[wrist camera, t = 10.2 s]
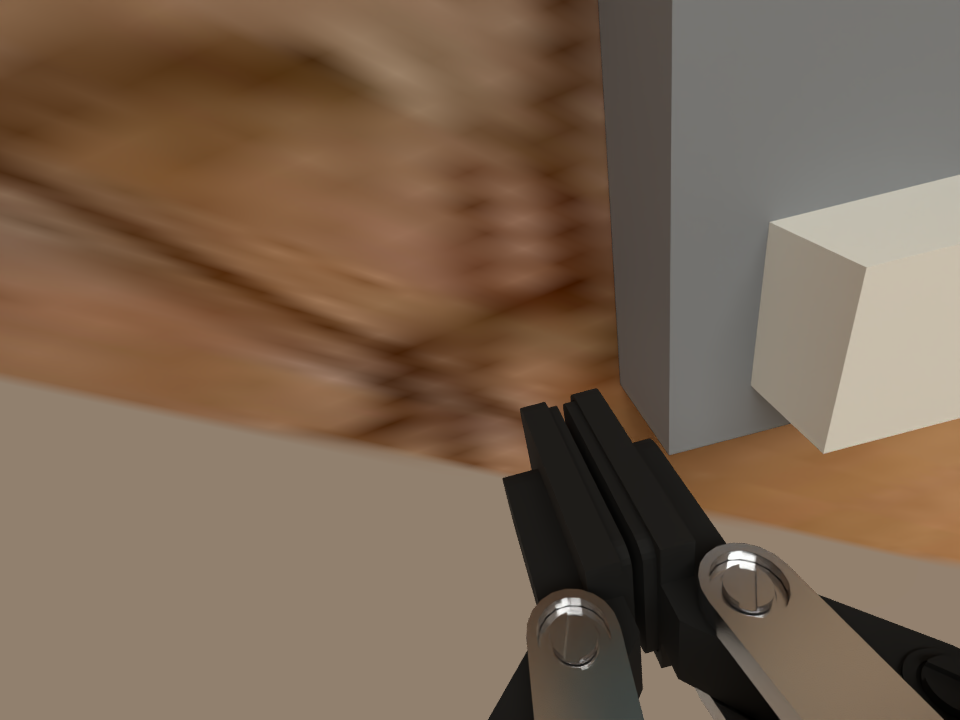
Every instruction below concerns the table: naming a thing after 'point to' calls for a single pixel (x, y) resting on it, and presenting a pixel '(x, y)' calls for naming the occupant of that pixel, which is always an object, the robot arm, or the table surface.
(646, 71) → the plate
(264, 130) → the table surface
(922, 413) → the beige block
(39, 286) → the table surface
